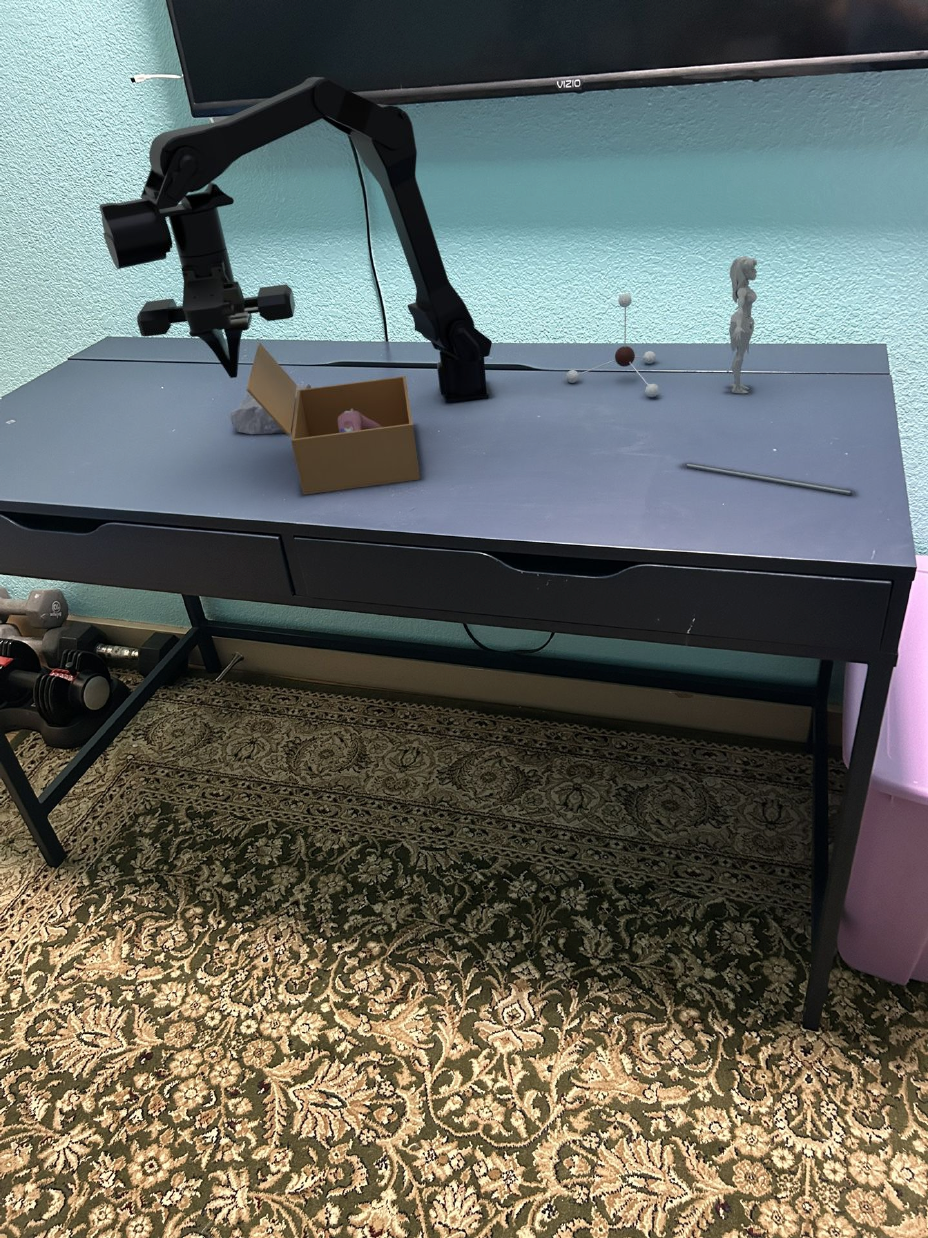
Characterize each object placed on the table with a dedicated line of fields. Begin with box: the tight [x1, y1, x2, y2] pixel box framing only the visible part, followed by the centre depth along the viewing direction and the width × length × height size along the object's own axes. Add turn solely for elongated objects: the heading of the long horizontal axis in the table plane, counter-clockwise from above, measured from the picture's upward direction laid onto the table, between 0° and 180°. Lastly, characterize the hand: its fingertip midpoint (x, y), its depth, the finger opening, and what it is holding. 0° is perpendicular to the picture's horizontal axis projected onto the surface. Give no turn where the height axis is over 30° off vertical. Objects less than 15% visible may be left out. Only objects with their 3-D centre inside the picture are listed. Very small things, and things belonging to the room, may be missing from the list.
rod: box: [686, 462, 853, 497], centre depth 104 cm, size 1×19×1 cm, turn 58°
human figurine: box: [728, 255, 758, 394], centre depth 121 cm, size 12×4×18 cm, turn 163°
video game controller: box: [338, 409, 382, 433], centre depth 118 cm, size 10×5×7 cm, turn 6°
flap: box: [246, 342, 297, 437], centre depth 113 cm, size 17×7×1 cm
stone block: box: [230, 382, 312, 436], centre depth 133 cm, size 12×5×10 cm
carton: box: [290, 375, 421, 496], centre depth 117 cm, size 17×15×7 cm
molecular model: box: [565, 293, 660, 398], centre depth 128 cm, size 13×15×13 cm
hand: (234, 376), depth 116 cm, fingers closed
